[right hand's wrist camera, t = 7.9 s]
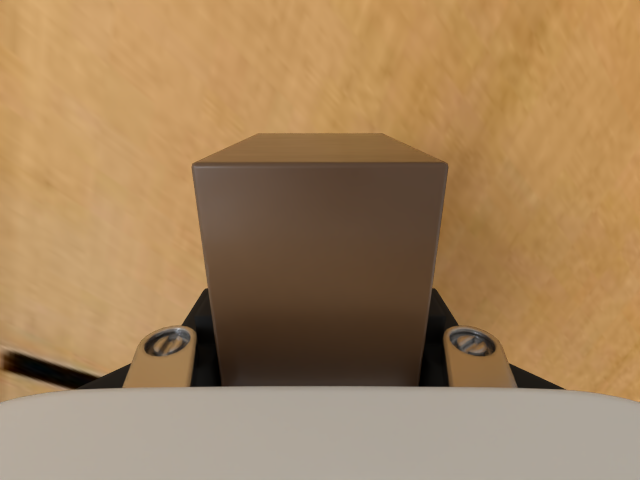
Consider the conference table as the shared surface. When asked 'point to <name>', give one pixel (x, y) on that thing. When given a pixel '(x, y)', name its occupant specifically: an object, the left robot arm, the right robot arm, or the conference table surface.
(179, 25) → the conference table surface
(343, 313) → the bar
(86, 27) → the conference table surface
